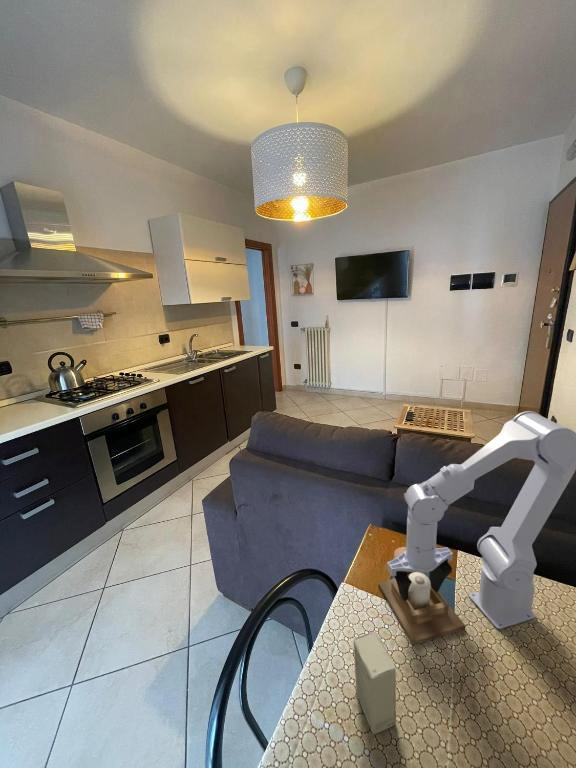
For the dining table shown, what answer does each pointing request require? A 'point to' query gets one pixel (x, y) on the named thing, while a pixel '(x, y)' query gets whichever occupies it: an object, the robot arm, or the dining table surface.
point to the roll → (419, 591)
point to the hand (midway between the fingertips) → (418, 592)
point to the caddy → (422, 614)
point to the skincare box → (375, 682)
